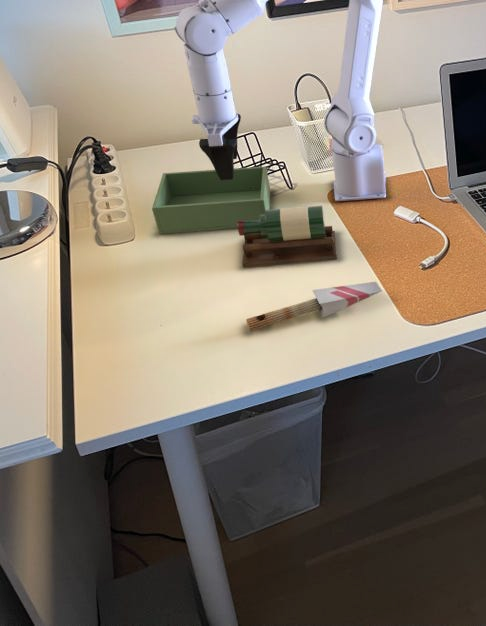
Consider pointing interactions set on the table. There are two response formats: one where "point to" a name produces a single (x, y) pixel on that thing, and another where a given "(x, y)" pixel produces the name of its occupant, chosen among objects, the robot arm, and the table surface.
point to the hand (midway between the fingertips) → (228, 168)
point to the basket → (210, 200)
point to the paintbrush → (318, 304)
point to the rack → (288, 250)
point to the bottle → (287, 224)
